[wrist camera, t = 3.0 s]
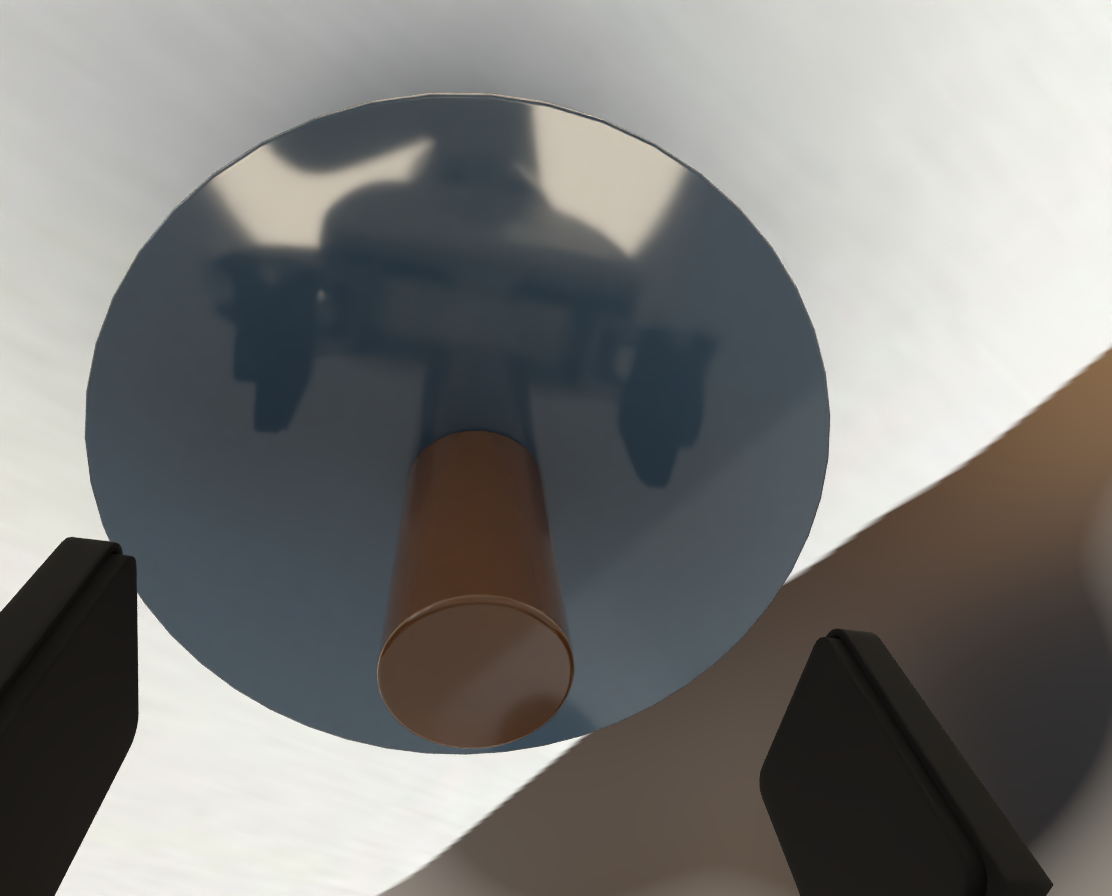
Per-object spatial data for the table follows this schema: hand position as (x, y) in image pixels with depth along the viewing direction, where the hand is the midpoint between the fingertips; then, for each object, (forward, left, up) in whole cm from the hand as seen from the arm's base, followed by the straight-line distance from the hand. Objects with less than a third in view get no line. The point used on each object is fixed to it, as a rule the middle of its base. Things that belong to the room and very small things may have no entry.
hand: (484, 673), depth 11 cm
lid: (0, 0, -5) cm, 5 cm away
